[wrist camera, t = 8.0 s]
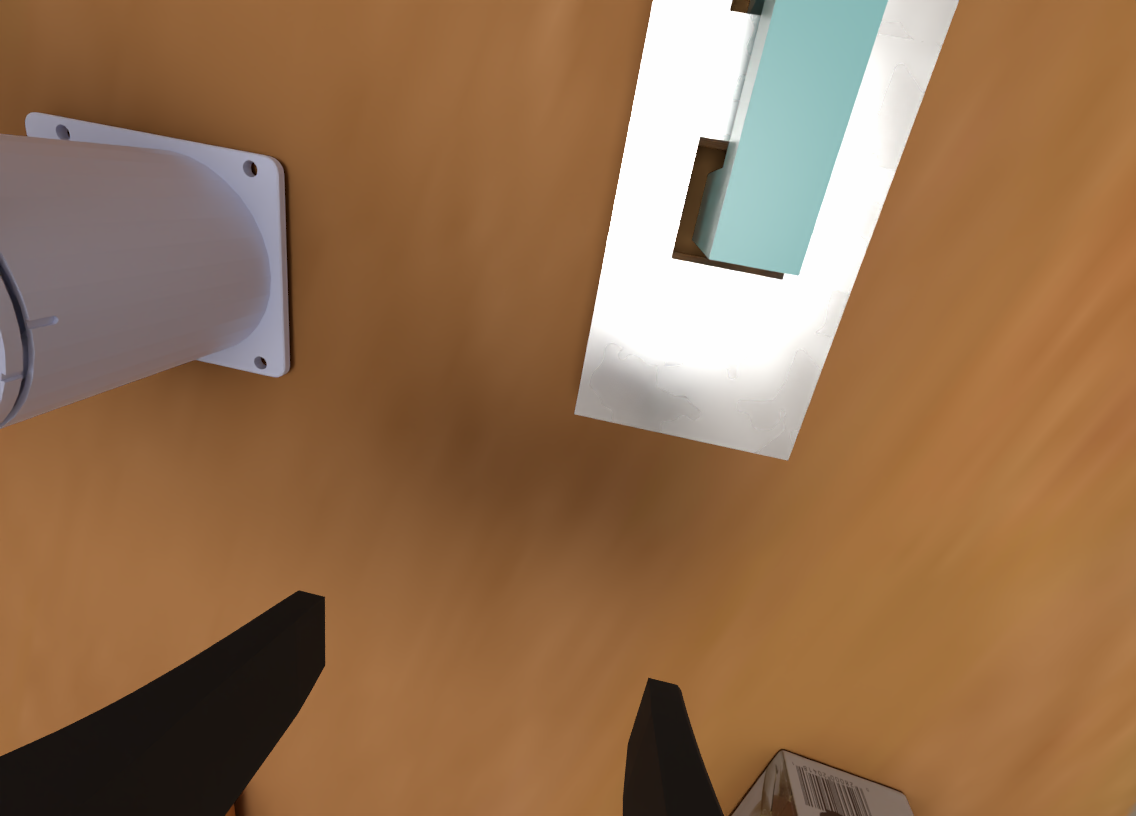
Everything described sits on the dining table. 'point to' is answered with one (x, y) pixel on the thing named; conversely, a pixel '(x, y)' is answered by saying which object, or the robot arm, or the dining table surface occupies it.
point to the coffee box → (817, 792)
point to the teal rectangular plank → (787, 131)
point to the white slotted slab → (724, 290)
